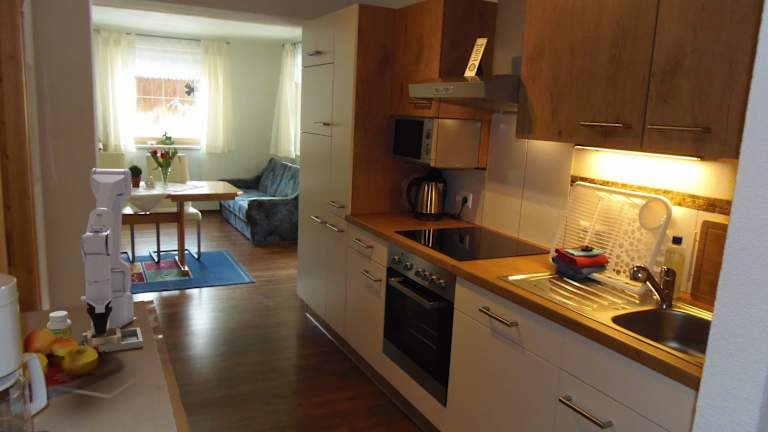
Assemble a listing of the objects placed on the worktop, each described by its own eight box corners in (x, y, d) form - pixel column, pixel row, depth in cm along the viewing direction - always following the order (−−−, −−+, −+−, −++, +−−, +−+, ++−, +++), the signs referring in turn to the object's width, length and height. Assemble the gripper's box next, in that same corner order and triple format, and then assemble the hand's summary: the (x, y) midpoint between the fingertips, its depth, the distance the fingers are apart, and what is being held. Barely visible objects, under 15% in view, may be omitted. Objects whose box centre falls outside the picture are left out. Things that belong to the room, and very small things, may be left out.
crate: (88, 351, 138) (87, 340, 138) (87, 339, 145) (87, 329, 144) (121, 346, 142) (121, 336, 141) (119, 335, 148) (119, 325, 148)
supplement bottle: (71, 344, 144) (70, 308, 142) (73, 351, 140) (72, 315, 138) (47, 347, 141) (45, 311, 139) (48, 355, 137) (46, 318, 135)
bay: (83, 357, 137) (82, 347, 136) (83, 342, 145) (82, 333, 145) (143, 348, 143) (142, 339, 143) (139, 335, 152) (139, 326, 151)
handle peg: (99, 335, 145) (98, 310, 144) (113, 337, 144) (112, 311, 143) (88, 341, 141) (87, 315, 140) (102, 343, 140) (101, 317, 139)
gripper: (80, 272, 144) (82, 322, 147) (80, 289, 132) (82, 343, 134) (110, 270, 148) (112, 319, 150) (113, 286, 135) (115, 339, 137)
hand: (100, 330), depth 142 cm, fingers closed on handle peg, 4 cm apart
